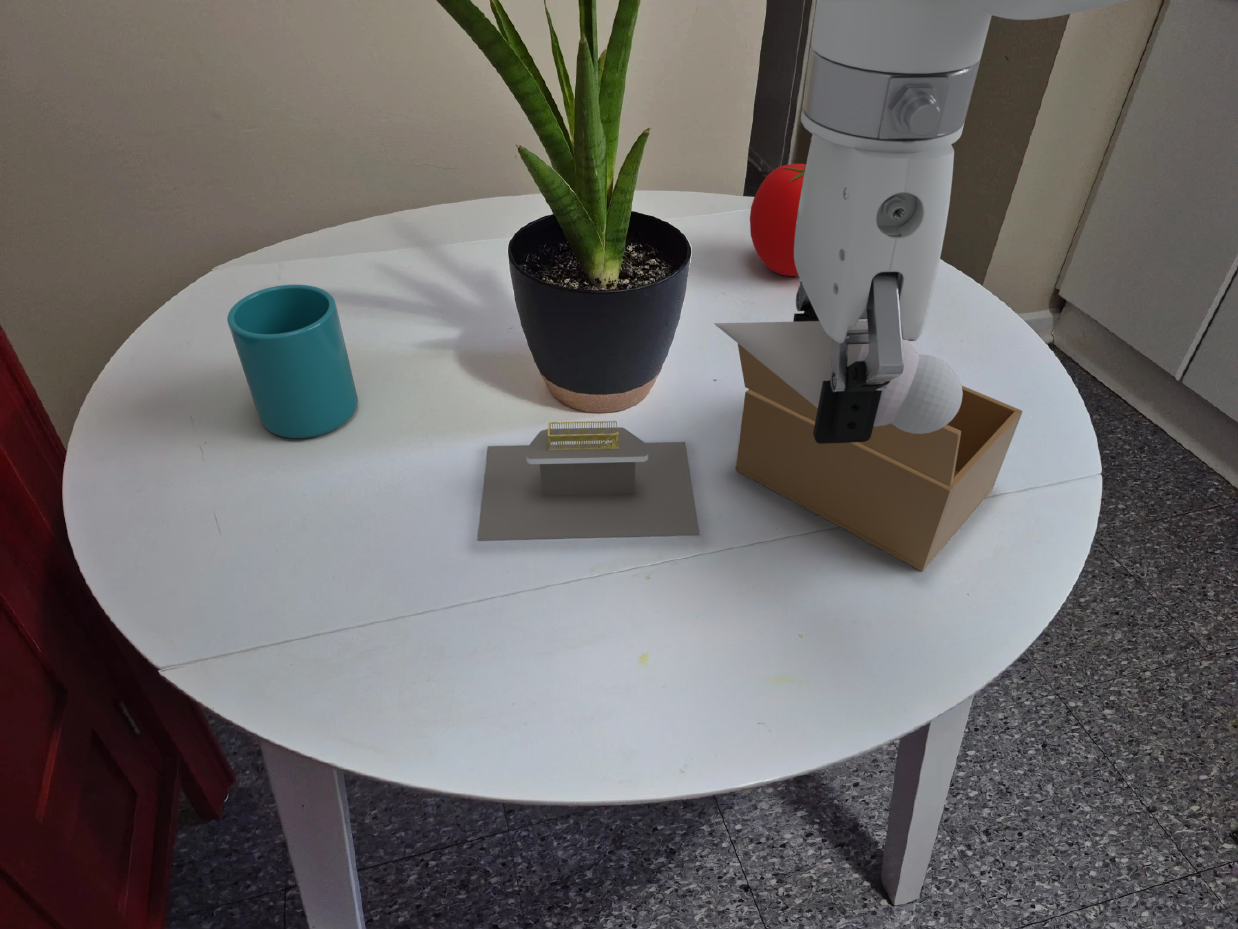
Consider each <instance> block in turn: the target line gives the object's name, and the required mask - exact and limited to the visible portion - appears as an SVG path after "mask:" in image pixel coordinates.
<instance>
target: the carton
mask: <svg viewBox="0 0 1238 929" xmlns="http://www.w3.org/2000/svg"><path fill="white" fill-rule="evenodd" d="M962 392H963V396H962V402H961V406H960V408H959V411H958V412H957V414H956V415H955V417H954V418H953V419H952V420H951V421H950V422H949V423H948V424H947V425H949V426H951V427H953V428H956V429H958V430H960V431H961V436H960V442H959V448H958V454H957V460H956V466H955V472H954V478H953V483H952V484H951V486H949V485H947V484H945V483H943V482H941V481H938V480H936V479H934V478H932V477H930V476H928V475H926V474H924V473H922V472H920V471H918V470H916V469H914V468H911V467H909V466H907V465H905V464H903V463H901V462H899V461H897V460H895V459H893V458H891V457H889V456H887V455H885V454H882V453H880V452H878V451H876V450H874V449H872V448H870V447H868V446H866V445H864V444H862V443H860V442H852V443H827V444H819V443H817V442H816V441H815V438H814V435H813V431H814V426H815V421H814V420H812V419H810V418H808V417H806V416H804V415H802V414H800V413H797V412H795V411H793V410H791V409H789V408H787V407H785V406H783V405H781V404H779V403H777V402H775V401H773V400H771V399H768V398H766V397H764V396H762V395H760V394H758V393H756V392H754V391H752V390H750V389H747V390H746V391H745V393H744V400H743V409H742V414H741V415H742V416H741V423H740V430H739V440H738V448H737V456H736V462H735V464H736V465H735V470H736V471H737V472H739V473H740V474H742V475H744V476H746V477H748V478H749V479H752V480H753V481H755V482H757V483H759V484H761V485H763V487H766V488H768V489H770V490H771V491H773V492H775V493H777V494H779V495H781V496H783V497H784V498H786V499H788V500H790V501H792V502H793V503H795V504H797V505H799V506H802V507H803V508H805V509H807V511H810V512H812V513H814V514H816V515H818V516H819V517H821V518H823V519H825V520H827V521H829V522H830V523H832V524H834V525H835V526H837V527H839V528H841V529H843V530H845V531H847V532H849V533H851V534H853V535H854V536H856V537H858V538H860V539H862V540H864V541H865V542H867V543H868V544H871V545H872V546H874V547H876V548H878V549H880V550H882V551H883V552H885V553H887V554H889V555H892V556H893V557H895V558H896V559H899V561H902V562H904V563H905V564H907V565H910V566H911V567H913V568H915V569H917V570H919V571H920V572H923V571H924V570H925V569H926V568H927V567H928V565H929V564H931V563H932V561H933V560H934V558H936V556H937V555H938V554H939V553H940V552H941V550H943V548H944V547H945V546H946V544H948V543H949V541H950V540H951V539H952V538H953V536H954V535H955V534H956V533H957V532H958V530H959V529H960V528H961V527H962V526H963V525H964V523H965V522H966V521H967V520H968V519H969V518H970V517H971V515H973V513H974V512H975V511H976V510H977V508H978V507H979V506H980V505H981V503H982V502H983V501H984V500H985V499H986V497H988V495H989V494H990V493H991V492H992V491H993V489H994V487H995V484H996V481H997V479H998V476H999V474H1000V472H1001V468H1002V466H1003V464H1004V461H1005V459H1006V456H1007V453H1008V451H1009V448H1010V446H1011V443H1012V440H1013V437H1014V435H1015V434H1016V433H1015V432H1016V430H1017V428H1018V426H1019V422H1020V420H1021V418H1022V415H1023V410H1022V409H1019V408H1017V407H1015V406H1012V405H1010V404H1007V403H1005V402H1003V401H1000V400H998V399H995V398H993V397H991V396H989V395H986V394H984V393H982V392H979V391H977V390H974V389H972V388H969V387H967V386H964V385H962Z"/></svg>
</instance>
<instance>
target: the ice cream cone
mask: <svg viewBox="0 0 1238 929" xmlns="http://www.w3.org/2000/svg"><path fill="white" fill-rule="evenodd" d="M713 324H714V325H715V326H716V327H717V328H718V329H720V330H721V331H722V332H723V333H724V334H726V335H727V336H728V337H729V338H731V339H732V340H733V341H734V342H735V343H737V345H738V344H739V345H741V346H742V347H743V348H744V349H745V350H747V351H748V352H749V353H750V354H752V355H753V356H754V357H755V358H757V359H758V360H759V361H760V362H761V363H763V364H764V365H765V366H766V367H768V368H769V369H770V370H771V371H772V372H774V373H775V374H776V375H777V376H779V377H780V378H781V379H782V380H783V381H785V382H786V383H787V384H788V385H790V386H791V387H792V388H793V389H794V390H796V391H797V392H798V393H799V394H801V395H802V396H803V397H804V398H805V399H807V400H808V401H809V402H810V403H812V404H813V405H814V406H815V407H817V408H818V405H819V399H820V394H821V389H822V384H823V381H828V380H830V373H831V353H832V338H831V337H830V336H829V335H828V334H827V333H826V332H825V330H824V329H823V327H822V325H821V323H820V321H802V322H793V321H762V322H761V321H759V322H757V321H756V322H714V323H713ZM863 329H868V323H867V319H865V320H858V321H857V323H856V324H855V326H849V327H848V330H863ZM902 346H903V359H904V369H903V372H902V374H901V375H900V376H898V377H896V378H894V379H893V380H891V381H890V383H889V384H887V387H886V389H885V390H882V393H881V397H880V401H879V405H878V410H877V414H876V418H875V422H874V426H875V427H876V426H883V425H887V424H890V423H892V424H893V425H894V426H896V427H897V428H899V429H901V430H903V431H905V432H909V433H913V434H925V433H931V432H934V431H936V430H939V429H941V428H942V427H944V426H946V425H947V424H948V423H949V422H950V421H951V420H952V419H953V418H954V417H955V415H956V414H957V412H958V411H959V408H960V406H961V402H962V396H963V392H962V386H963V385H962V382H961V378H960V376H959V375H958V373H957V371H956V370H955V369H954V367H952V365H951V364H950V363H948V362H947V361H945V360H944V359H942V358H939V357H938V356H934V355H929V354H920V353H918V350H917V349H916V348H915V347H914V346H913V345H912V344H911V341H908V340H903V339H902ZM868 353H869V344H848V362H847V367H848V366H849V365H851V364H853V363H854V362H856V361H864V360H865V358H866V357H867V356H868Z"/></svg>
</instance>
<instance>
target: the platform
mask: <svg viewBox="0 0 1238 929" xmlns="http://www.w3.org/2000/svg"><path fill="white" fill-rule="evenodd" d="M604 423H606V427H604ZM613 423H615V426H613ZM555 424H556V428H554V425H555ZM563 424H565V425H563ZM570 424H572V427H570ZM579 424H581V427H579ZM588 424H590V427H586V425H588ZM595 424H597V427H595ZM617 424H618V422H617V420H591V421H589V420H588V421H548V423H547V428H546V429H542V430H540V431H539V432H538V433H537V434H536V436H535V437H534V438H533V440H532V441H531V442H530V443H529V444H526V445H523V444H522V445H521V444H519V445H488V446H487V454H486V464H485V473H484V481H483V490H482V498H481V500H482V501H481V507H480V508H481V509H480V516H479V517H480V518H479V526H478V535H477V541H503V540H504V541H506V540H508V541H509V540H540V539H541V540H544V539H545V540H547V539H549V540H550V539H583V538H586V539H587V538H620V537H621V538H622V537H623V538H624V537H625V538H627V537H628V538H629V537H661V536H662V537H665V536H666V537H667V536H697V535H698V536H700V534H701V533H700V527H699V522H698V515H697V509H696V502H695V497H694V496H695V495H694V489H693V483H692V477H691V471H690V465H689V458H688V452H687V445H686V441H666V442H665V441H662V442H661V441H660V442H657V441H656V442H655V441H654V442H645V441H643V440H642V439H640V438H639V437H637V436H636V435H635V434H633V433H632V432H630V431H629V430H628V429H626V428H625V427H622V426H619V427H618V425H617ZM561 426H563V428H561ZM566 442H568V443H566ZM585 442H586V443H585ZM593 442H594V443H593ZM555 443H556V444H555Z"/></svg>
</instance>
